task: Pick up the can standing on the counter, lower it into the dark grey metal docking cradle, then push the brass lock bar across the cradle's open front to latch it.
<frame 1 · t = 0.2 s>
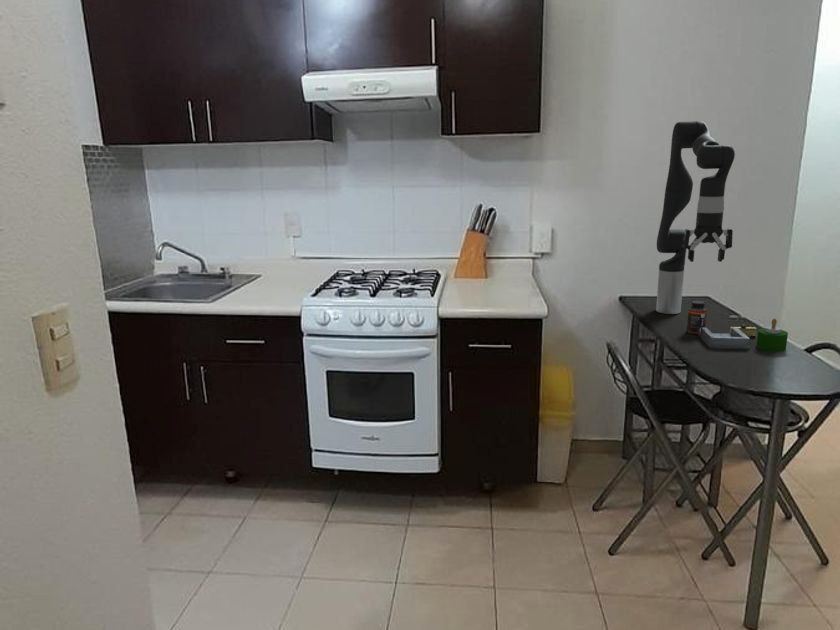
hand: (705, 261, 189), 28 cm above the table, fingers open, 8 cm apart
supplement bottle: (695, 333, 209), on the table
dock: (723, 342, 198), on the table
candle: (770, 348, 190), on the table
lock bar: (743, 330, 203), point 2 cm above the table, slide at 8.5 cm
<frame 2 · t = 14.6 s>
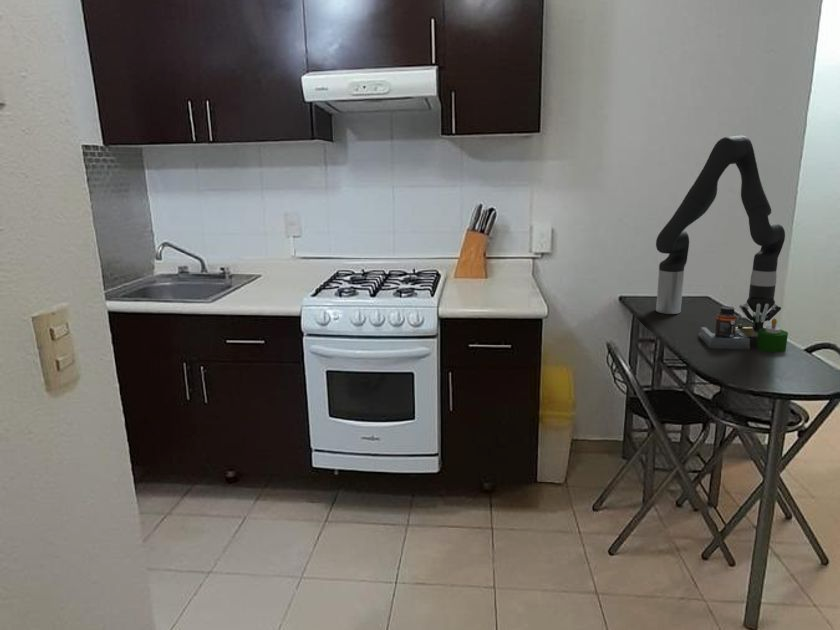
hand: (757, 332, 203), 1 cm above the table, fingers closed
supplement bottle: (724, 340, 196), point 1 cm above the table, touching dock
lock bar: (739, 330, 203), point 2 cm above the table, slide at 7.5 cm, touching gripper
everything else where it was.
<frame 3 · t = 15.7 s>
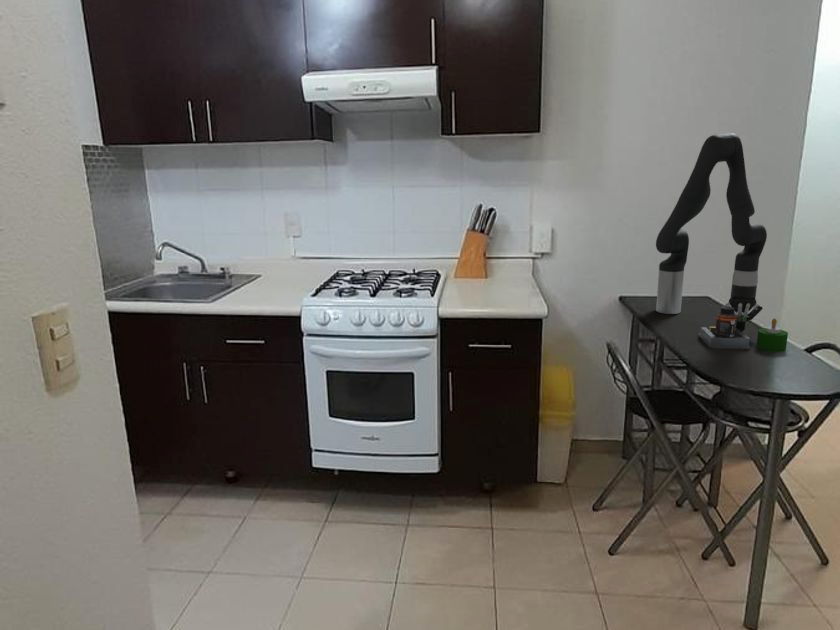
hand: (739, 331, 204), 1 cm above the table, fingers closed
lock bar: (722, 330, 204), point 2 cm above the table, slide at 1.7 cm, touching gripper
everything else where it was.
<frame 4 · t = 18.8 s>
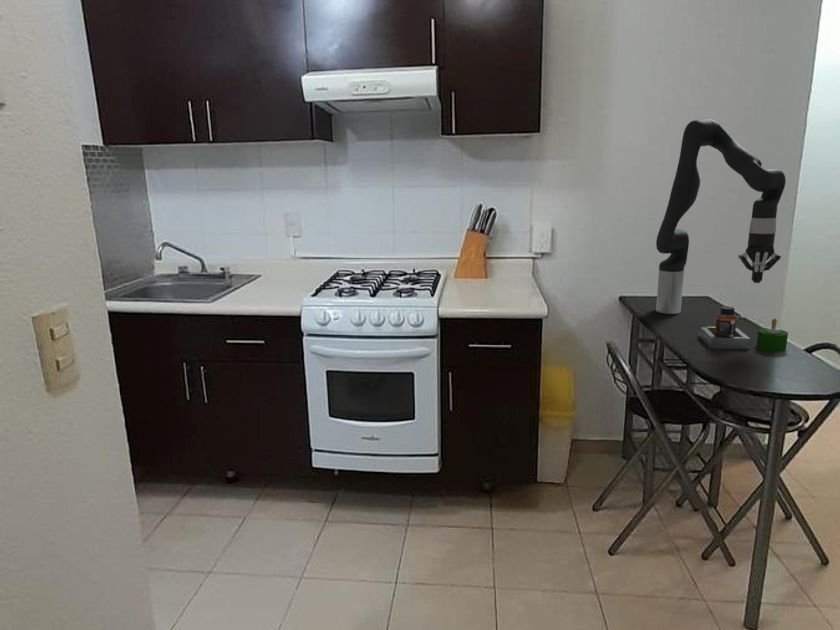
hand: (756, 282, 198), 19 cm above the table, fingers closed
lock bar: (719, 330, 204), point 2 cm above the table, slide at 1.0 cm
everything else where it was.
at the end: supplement bottle 0.4 cm off-centre on the dock, point 0.8 cm above the dock's base; supplement bottle tilted 0°; lock bar slide at 1.0 cm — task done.
